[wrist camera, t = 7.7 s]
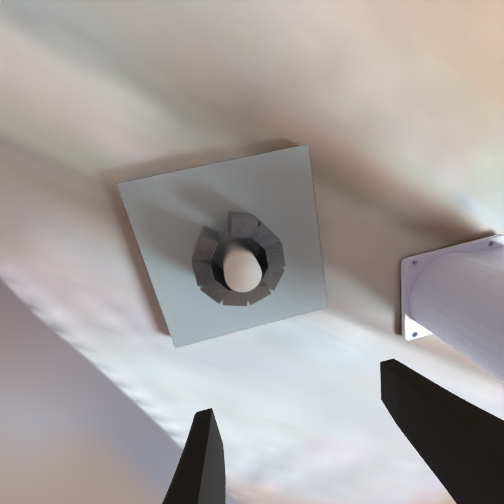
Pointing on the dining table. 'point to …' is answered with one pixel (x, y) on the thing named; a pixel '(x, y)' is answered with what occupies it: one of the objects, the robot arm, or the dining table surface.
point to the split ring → (213, 275)
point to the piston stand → (228, 239)
